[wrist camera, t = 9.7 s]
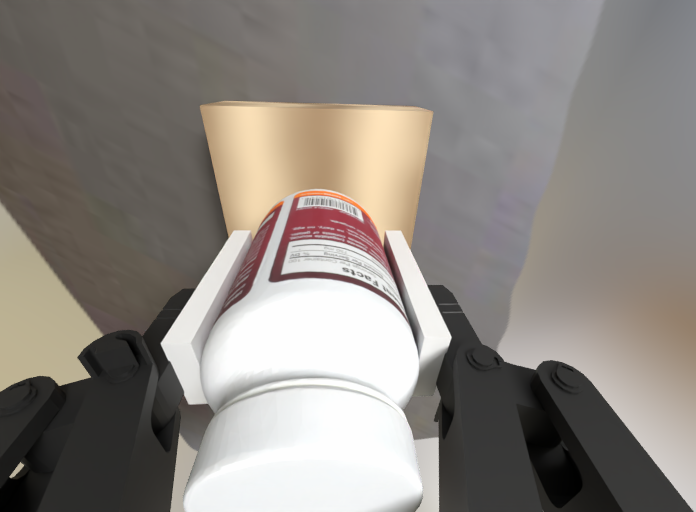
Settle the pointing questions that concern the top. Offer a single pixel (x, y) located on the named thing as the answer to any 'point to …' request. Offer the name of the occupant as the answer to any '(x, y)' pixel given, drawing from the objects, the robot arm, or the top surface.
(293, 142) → the oak block
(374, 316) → the pill bottle
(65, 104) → the top surface
